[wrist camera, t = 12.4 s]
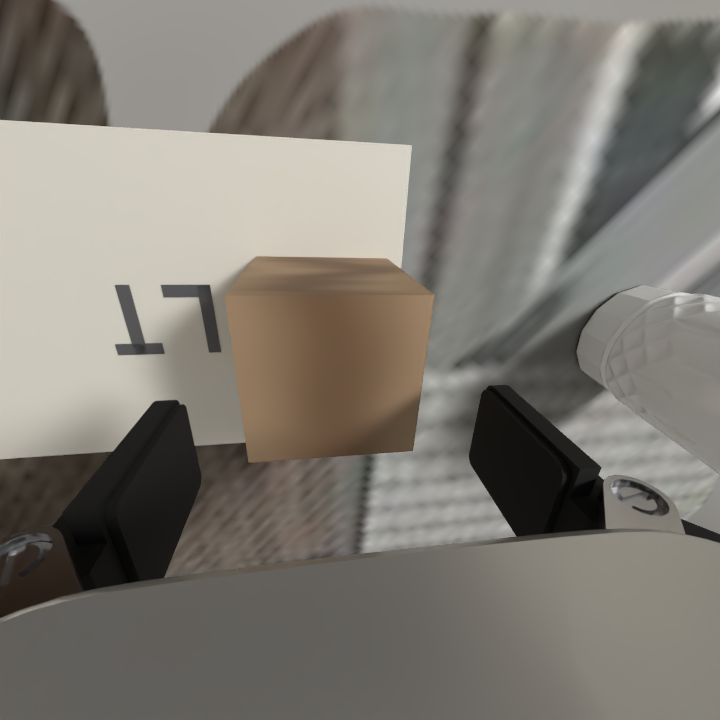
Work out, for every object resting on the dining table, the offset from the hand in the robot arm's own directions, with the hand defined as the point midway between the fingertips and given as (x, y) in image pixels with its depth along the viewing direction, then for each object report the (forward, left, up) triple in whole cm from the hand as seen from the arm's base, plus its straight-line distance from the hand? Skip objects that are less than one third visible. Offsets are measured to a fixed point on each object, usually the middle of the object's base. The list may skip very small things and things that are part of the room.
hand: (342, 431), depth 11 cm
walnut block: (+1, 0, -9) cm, 8 cm away
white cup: (-8, -18, -9) cm, 22 cm away
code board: (+4, +7, -9) cm, 12 cm away
